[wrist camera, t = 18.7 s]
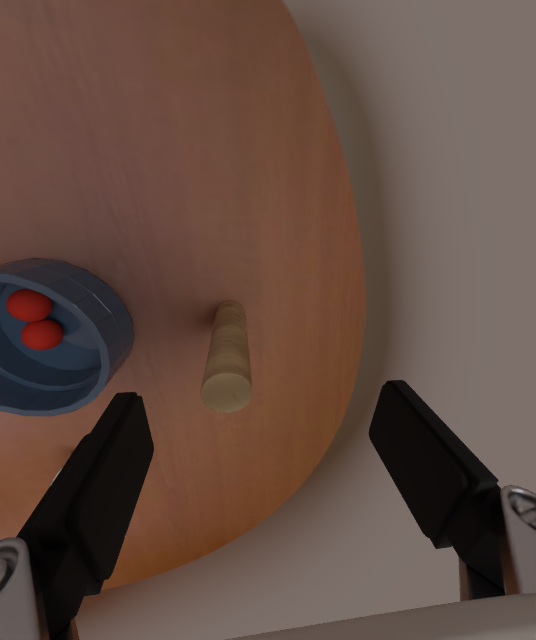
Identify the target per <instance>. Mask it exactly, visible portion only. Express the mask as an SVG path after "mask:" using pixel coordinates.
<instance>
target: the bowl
mask: <svg viewBox="0 0 536 640" xmlns="http://www.w3.org/2000/svg"><path fill="white" fill-rule="evenodd" d="M20 289H30V290H33V291H36V292H39V293H42V294H44V295H46V296H47V297H49V298H50V299H51V301H52V305H53V307H52V311H51V313H50V314H49V315H48V316H47V317H45V318H44V319H49V320H52V321H55V322H57V323H58V324H59V325H60V326H61V327H62V329H63V332H64V336H63V339H62V341H61V342H60V343H59V344H58V345H57V346H56V347H54V348H51V349H48V350H35V349H31V348H29V347H28V346H26V345H25V344H24V343H23V341H22V339H21V331H22V329H23V328H24V326H25V325H26V324H28V323H29V322H27V321H22V320H19V319H17V318H15V317H13V316H12V315H11V314H10V313H9V312H8V310H7V308H6V301H7V299H8V297H9V296H10V295H11V294H12V293H13V292H15V291H17V290H20ZM133 341H134V337H133V326H132V320H131V318H130V316H129V314H128V311H127V309H126V307H125V305H124V303H123V302H122V301H121V300H120V298H119V297H118V296H117V295H116V294H115V293H114V292H113V290H112V289H111V288H110V287H109V286H107V284H105V283H104V282H102V281H101V280H99V279H98V278H97V277H95V276H94V275H92V274H91V273H89V272H88V271H86V270H84V269H81V268H79V267H76V266H73V265H71V264H68V263H65V262H63V261H58V260H48V259H39V258H31V259H26V260H21V261H16V262H11V263H6V264H2V265H0V411H3V412H8V413H13V414H17V415H22V416H55V415H60V414H64V413H69V412H73V411H76V410H77V409H79V408H81V407H83V406H85V405H87V404H88V403H90V402H92V401H93V400H94V399H95V398H96V397H97V396H98V395H99V393H100V392H101V391H102V390H103V389H104V388H105V386H106V385H107V384H108V382H109V381H110V380H111V378H112V377H113V376H114V374H115V373H116V372H117V370H118V369H119V368H120V366H121V365H122V364H123V362H124V361H125V360H126V358H127V357H128V356H129V353H130V350H131V347H132V344H133Z"/></svg>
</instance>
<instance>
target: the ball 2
mask: <svg viewBox="0 0 536 640" xmlns="http://www.w3.org/2000/svg"><path fill="white" fill-rule="evenodd" d="M63 336H64V332H63V329H62V327H61V326H60V325H59V324H58V323H57V322H55V321H52V320H49V319H42V320H39V321H33V322H29V323H28V324H26V325H25V326H24V328H23V329H22V331H21V339H22V341H23V343H24V344H25V345H26V346H28V347H29V348H31V349H35V350H48V349H51V348H54V347H56V346H57V345H58V344H59V343H60V342H61V341H62V339H63Z"/></svg>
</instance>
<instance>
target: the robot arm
mask: <svg viewBox="0 0 536 640" xmlns="http://www.w3.org/2000/svg"><path fill="white" fill-rule="evenodd" d="M369 437H370V440H371V442H372V443H373V445H374V447H375V449H376V451H377V452H378V454H379V456H380V458H381V460H382V461H383V463H384V465H385V467H386V469H387V470H388V472H389V474H390V476H391V477H392V479H393V481H394V483H395V485H396V486H397V488H398V490H399V492H400V493H401V495H402V497H403V499H404V500H405V502H406V504H407V506H408V508H409V509H410V511H411V513H412V515H413V516H414V518H415V520H416V522H417V523H418V525H419V527H420V529H421V531H422V532H423V534H424V535H425V536H426V537H428V538H430V540H431V541H432V543H433V545H434V547H435V548H436V549H440V548H447V547H451V546H453V548H454V549H455V551H456V552H457V554H458V556H459V580H460V602H454V603H448V604H442V605H435V606H429V607H423V608H416V609H410V610H403V611H397V612H391V613H385V614H378V615H372V616H366V617H359V618H354V619H347V620H342V621H335V622H329V623H323V624H317V625H310V626H304V627H299V628H292V629H286V630H280V631H274V632H268V633H261V634H256V635H250V636H244V637H238V638H232V639H227V640H536V494H535V493H533V492H531V491H529V490H527V489H524V488H522V487H519V486H512V485H508V486H504V487H503V488H502V489H501V488H500V487H499V486H498V485H497V482H498V479H497V478H496V477H495V476H494V475H493V474H492V473H491V472H490V471H489V470H488V469H487V468H486V466H485V465H484V464H483V463H482V462H480V460H479V459H478V458H477V457H476V456H475V455H474V454H473V453H472V452H471V451H470V450H469V449H468V448H467V446H466V445H465V444H464V443H463V442H462V441H461V440H460V439H459V438H458V437H457V436H456V435H455V434H454V433H453V432H452V431H451V430H450V429H449V427H448V426H447V425H446V424H445V423H444V422H443V421H442V420H441V419H440V418H439V417H438V416H437V415H436V414H435V413H434V411H433V410H432V409H431V408H429V406H428V405H427V404H426V403H425V402H424V401H423V400H422V399H421V398H420V397H419V396H418V395H417V394H416V392H415V391H414V390H413V389H412V388H411V387H410V386H409V385H408V384H407V383H406V382H405V381H403V380H392V381H387V382H386V384H385V385H383V386H382V389H381V392H380V396H379V399H378V402H377V405H376V409H375V412H374V415H373V419H372V422H371V425H370V429H369ZM153 452H154V445H153V441H152V437H151V432H150V428H149V424H148V420H147V416H146V412H145V407H144V403H143V399H142V397H141V396H137V393H136V392H124V393H117V394H116V395H115V396H114V397H113V399H112V401H111V402H110V404H109V405H108V407H107V408H106V410H105V411H104V413H103V414H102V416H101V417H100V419H99V420H98V422H97V424H96V425H95V427H94V428H93V430H92V431H91V433H90V434H87V435H86V436H84V438H83V439H82V440H81V441H80V443H79V444H78V446H77V447H76V449H75V450H74V452H73V453H72V455H71V456H70V458H69V459H68V461H67V462H66V464H65V465H64V467H63V468H62V469H61V471H60V472H59V474H58V475H57V477H56V478H55V480H54V481H53V483H52V484H51V486H50V487H49V489H48V490H47V492H46V493H45V495H44V496H43V498H42V499H41V501H40V502H39V504H38V505H37V507H36V508H35V510H34V511H33V513H32V514H31V516H30V517H29V519H28V520H27V522H26V523H25V525H24V526H23V528H22V529H21V531H20V532H19V534H18V535H17V537H16V538H5V539H2V540H0V640H79V636H78V631H77V627H76V622H75V618H74V617H75V616H76V615H77V612H78V610H79V608H80V605H81V603H82V600H83V598H84V596H89V595H96V594H99V593H100V591H101V588H102V585H103V582H104V580H106V579H109V578H110V576H111V575H112V573H113V570H114V568H115V565H116V562H117V559H118V556H119V553H120V550H121V547H122V544H123V541H124V538H125V535H126V532H127V530H128V527H129V524H130V521H131V518H132V515H133V512H134V509H135V506H136V503H137V500H138V497H139V495H140V492H141V489H142V486H143V483H144V480H145V477H146V474H147V471H148V468H149V465H150V462H151V460H152V457H153Z"/></svg>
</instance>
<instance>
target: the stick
mask: <svg viewBox="0 0 536 640" xmlns="http://www.w3.org/2000/svg"><path fill="white" fill-rule="evenodd" d="M200 394H201V399H202V401H203V403H204V404H205V405H206V406H207V407H208V408H209V409H211V410H213V411H216V412H219V413H232V412H236V411H238V410H240V409H242V408H244V407H245V406H246V405H247V404H248V403H249V401H250V399H251V397H252V381H251V370H250V359H249V348H248V337H247V326H246V315H245V310H244V308H243V306H242V305H241V304H240V303H238V302H236V301H226V302H223V303H222V304H221V305H220V306H219V307H218V309H217V311H216V316H215V321H214V326H213V331H212V337H211V342H210V347H209V352H208V357H207V362H206V367H205V372H204V377H203V382H202V387H201V393H200Z"/></svg>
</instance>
